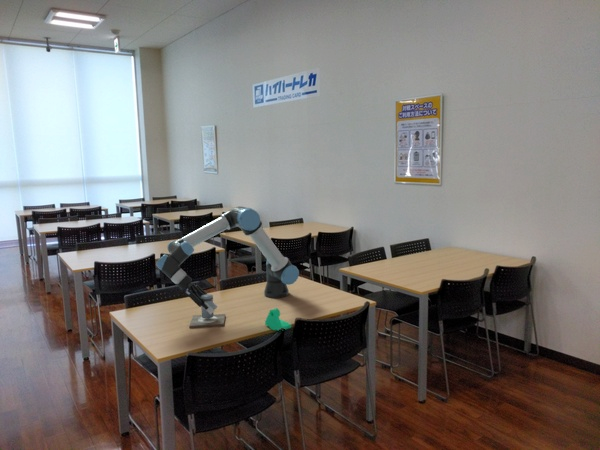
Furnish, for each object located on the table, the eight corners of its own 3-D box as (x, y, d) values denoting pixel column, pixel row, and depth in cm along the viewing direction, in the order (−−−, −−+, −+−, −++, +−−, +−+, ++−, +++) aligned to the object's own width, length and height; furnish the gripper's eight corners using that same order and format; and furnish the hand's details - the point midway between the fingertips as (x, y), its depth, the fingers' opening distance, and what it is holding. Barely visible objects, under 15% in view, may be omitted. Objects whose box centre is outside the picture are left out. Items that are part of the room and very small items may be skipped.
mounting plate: (193, 317, 245) (193, 315, 245) (225, 316, 246) (225, 313, 246) (189, 328, 230) (189, 325, 230) (223, 326, 232) (223, 323, 231)
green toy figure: (292, 329, 227) (291, 309, 225) (280, 333, 222) (279, 312, 220) (277, 322, 236) (276, 303, 234) (265, 326, 231) (264, 307, 229)
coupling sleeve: (202, 314, 241) (201, 294, 239) (214, 314, 241) (213, 294, 240) (201, 318, 234) (200, 298, 233) (213, 318, 235) (212, 297, 233)
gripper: (182, 279, 246) (214, 309, 247) (170, 289, 227) (204, 321, 228) (192, 270, 245) (223, 299, 246) (180, 279, 226) (214, 311, 227)
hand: (214, 310), depth 237 cm, fingers closed on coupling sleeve, 6 cm apart
